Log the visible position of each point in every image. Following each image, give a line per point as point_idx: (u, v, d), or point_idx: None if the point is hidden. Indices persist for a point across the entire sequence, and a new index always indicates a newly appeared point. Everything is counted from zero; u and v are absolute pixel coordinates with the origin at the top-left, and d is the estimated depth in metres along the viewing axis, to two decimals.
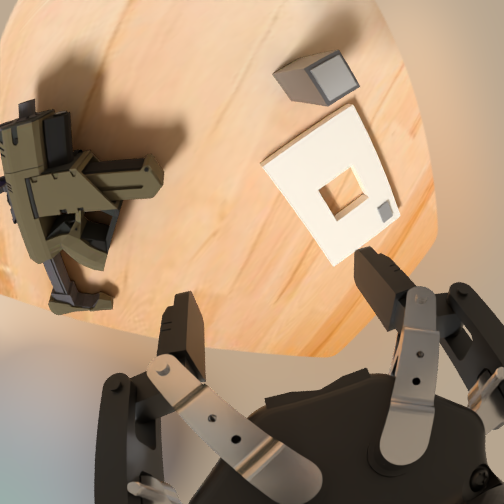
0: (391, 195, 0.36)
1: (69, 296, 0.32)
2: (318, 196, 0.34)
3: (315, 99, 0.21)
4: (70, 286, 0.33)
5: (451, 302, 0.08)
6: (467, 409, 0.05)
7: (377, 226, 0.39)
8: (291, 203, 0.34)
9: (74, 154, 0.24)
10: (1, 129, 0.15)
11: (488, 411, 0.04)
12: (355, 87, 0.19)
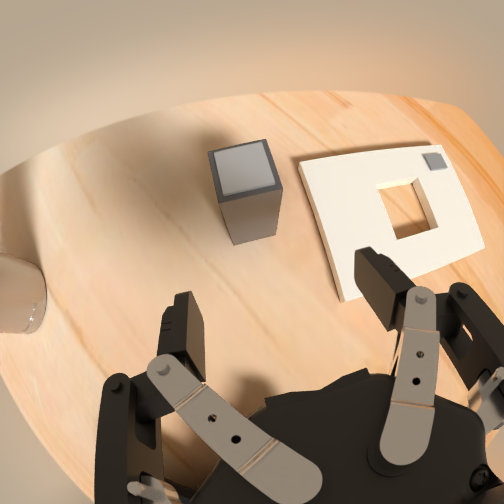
0: (417, 148, 0.26)
1: None
2: (404, 242, 0.23)
3: (272, 203, 0.18)
4: None
5: (451, 302, 0.08)
6: (467, 409, 0.05)
7: (450, 176, 0.25)
8: None
9: None
10: None
11: (488, 411, 0.04)
12: (265, 145, 0.17)
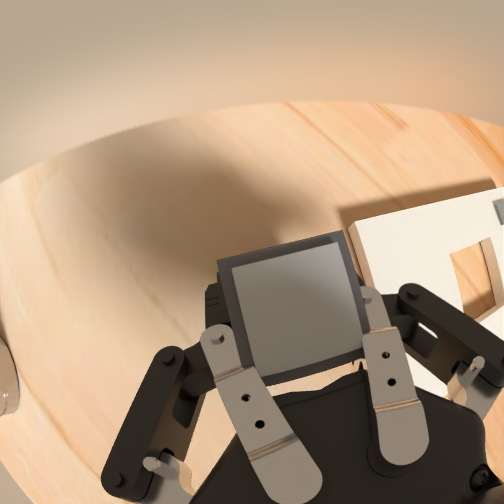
0: (487, 193, 0.17)
1: None
2: None
3: None
4: None
5: (404, 307, 0.08)
6: (467, 409, 0.05)
7: None
8: None
9: None
10: None
11: (476, 400, 0.05)
12: (342, 246, 0.08)
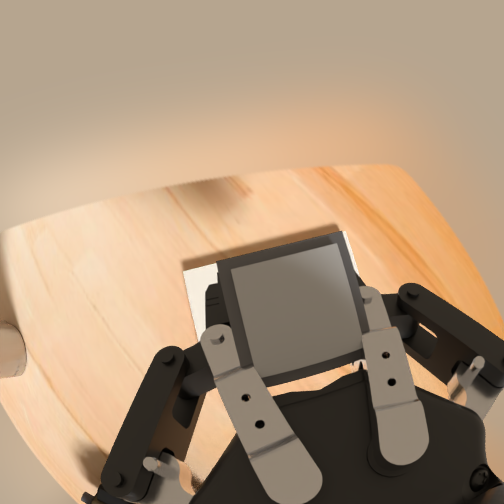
0: None
1: None
2: None
3: None
4: None
5: (404, 307, 0.08)
6: (467, 409, 0.05)
7: None
8: None
9: None
10: None
11: (476, 400, 0.05)
12: (342, 247, 0.08)
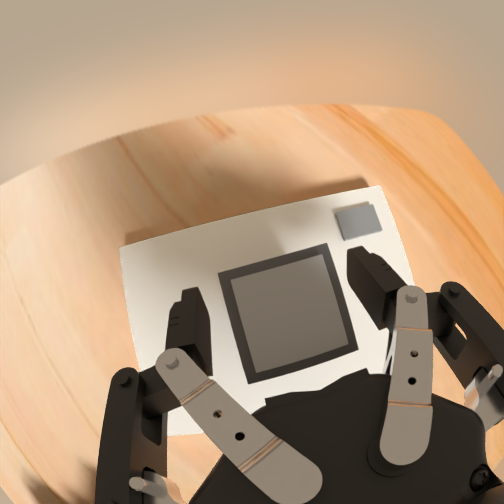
0: (326, 199, 0.18)
1: None
2: None
3: None
4: None
5: (443, 302, 0.08)
6: (467, 409, 0.05)
7: (386, 245, 0.17)
8: None
9: None
10: None
11: (486, 409, 0.04)
12: (327, 257, 0.09)
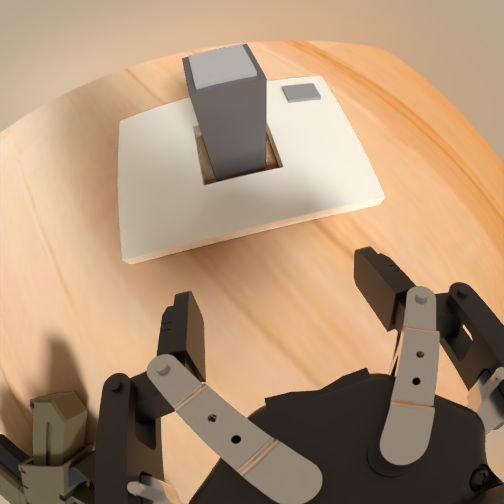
0: (276, 82, 0.22)
1: None
2: (215, 187, 0.19)
3: (255, 104, 0.13)
4: None
5: (451, 302, 0.08)
6: (467, 409, 0.05)
7: (326, 107, 0.21)
8: (202, 236, 0.18)
9: None
10: None
11: (488, 411, 0.04)
12: (246, 48, 0.13)
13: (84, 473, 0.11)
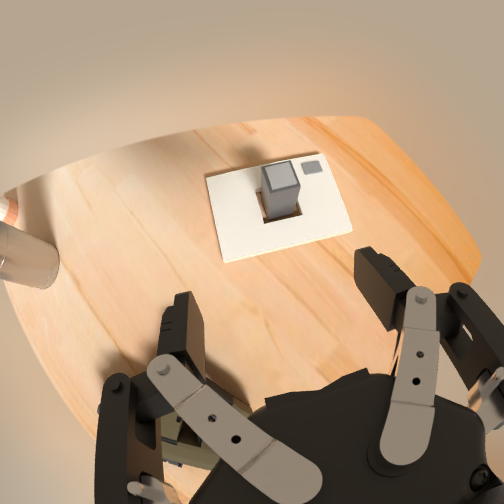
0: (298, 159, 0.42)
1: None
2: (270, 225, 0.40)
3: (294, 193, 0.34)
4: None
5: (451, 302, 0.08)
6: (467, 409, 0.05)
7: (325, 177, 0.41)
8: (265, 249, 0.39)
9: None
10: None
11: (488, 411, 0.04)
12: (290, 163, 0.33)
13: None
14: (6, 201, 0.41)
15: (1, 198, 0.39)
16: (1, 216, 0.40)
